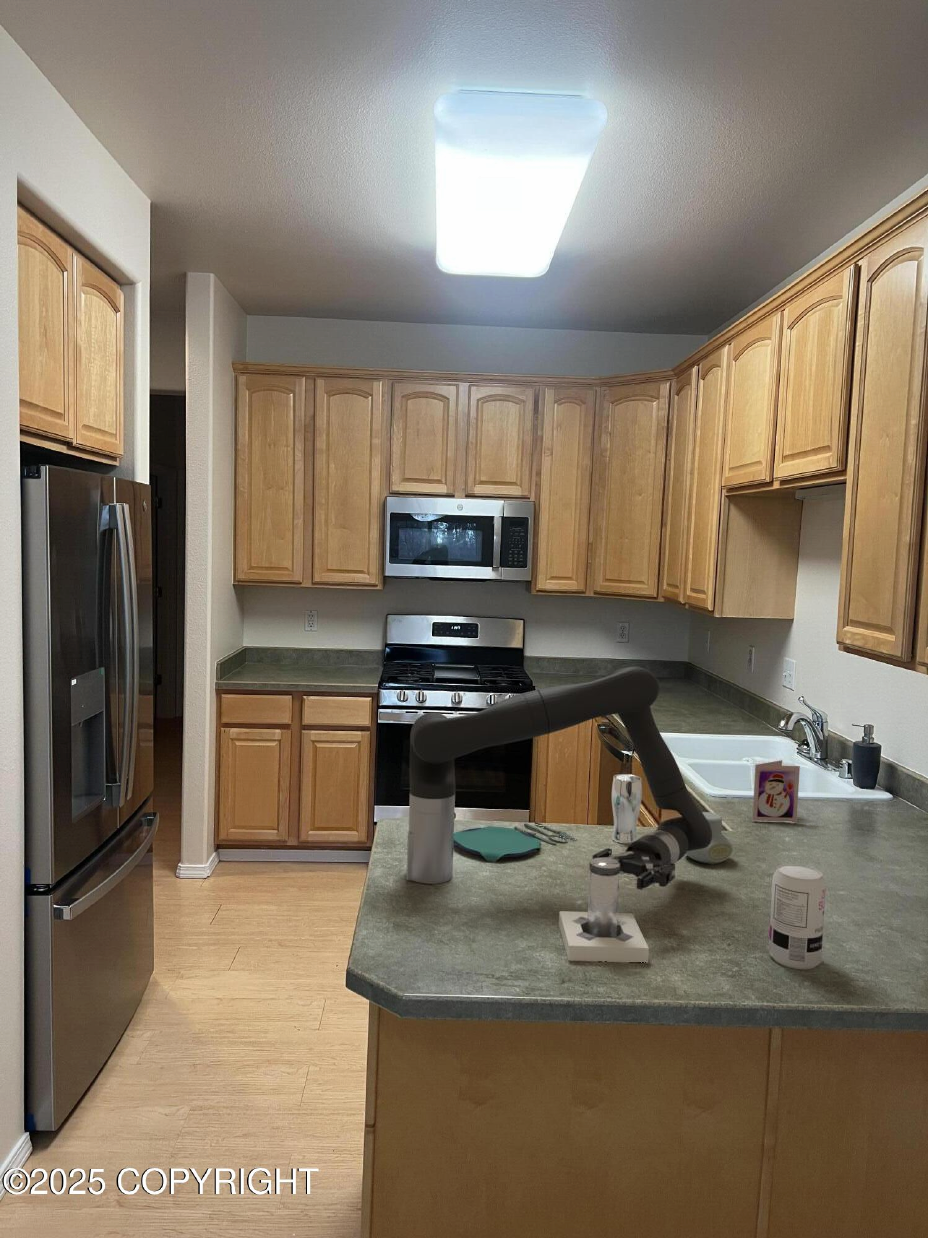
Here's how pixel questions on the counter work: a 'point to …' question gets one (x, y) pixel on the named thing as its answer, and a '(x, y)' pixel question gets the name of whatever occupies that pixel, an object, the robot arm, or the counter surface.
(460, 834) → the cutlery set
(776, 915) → the supplement can
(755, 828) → the counter surface
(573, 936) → the mount plate
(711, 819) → the air freshener
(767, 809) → the greeting card
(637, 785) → the beer glass
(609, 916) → the grey cylindrical piece
